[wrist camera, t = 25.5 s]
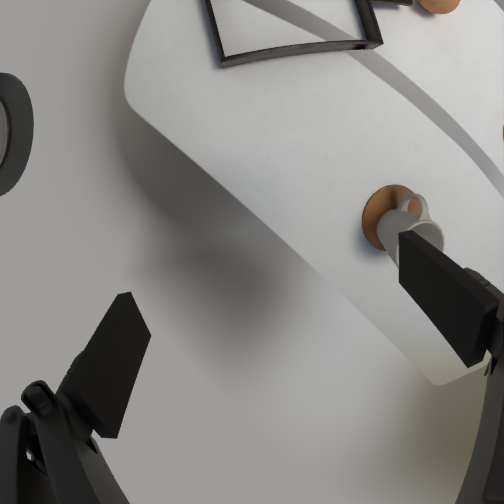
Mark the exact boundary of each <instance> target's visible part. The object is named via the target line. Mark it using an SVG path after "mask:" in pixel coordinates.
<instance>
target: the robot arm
mask: <svg viewBox="0 0 504 504" xmlns="http://www.w3.org/2000/svg"><path fill="white" fill-rule="evenodd" d="M11 132H12V128H11V117H10V113H9V110H8V107H7V105H6V103H5V102H4V100H3V99H2V98H1V97H0V169H1V168H2V166H3V164H4V162H5V160H6V158H7V155H8V152H9V148H10V143H11ZM398 240H399V283H400V284H401V286H402V287H403V288H404V289H405V290H406V291H407V292H408V294H409V295H410V296H411V297H412V298H413V300H414V301H415V302H416V303H417V304H418V305H419V307H420V308H421V309H422V310H423V311H424V313H425V314H426V315H427V316H428V318H429V319H430V320H431V321H432V322H433V324H434V325H435V326H436V327H437V329H438V330H439V331H440V333H441V334H442V335H443V336H444V338H445V339H446V340H447V341H448V343H449V344H450V345H451V347H452V348H453V349H454V351H455V352H456V353H457V355H458V356H459V357H460V359H461V360H462V361H463V363H464V364H465V365H466V367H467V368H469V367H471V366H473V365H475V364H477V363H479V362H481V361H483V358H484V355H485V352H486V349H487V350H488V351H489V352H490V353H491V358H490V361H489V363H488V366H487V369H486V371H485V374H484V375H485V376H486V375H487V373H488V377H487V385H486V392H485V398H484V404H483V410H482V414H481V419H480V424H479V429H478V433H477V437H476V441H475V445H474V448H473V452H472V456H471V459H470V463H469V466H468V469H467V472H466V476H465V478H464V481H463V484H462V487H461V490H460V492H459V495H458V498H457V500H456V503H455V504H504V294H503V293H502V292H501V291H500V290H498V289H497V288H496V287H495V286H494V285H493V284H491V283H490V282H489V281H488V280H486V279H485V278H484V277H483V276H482V275H480V274H479V273H478V272H476V271H474V270H471V269H469V268H464V269H463V268H461V267H460V266H459V265H458V264H456V263H455V262H454V261H453V260H451V259H450V258H449V257H448V256H446V255H445V254H444V253H442V252H441V251H440V250H439V249H437V248H436V247H435V246H433V245H432V244H431V243H429V242H428V241H427V240H425V239H424V238H422V237H421V236H420V235H418V234H417V233H416V232H414V231H413V230H408V231H403V232H399V233H398ZM150 338H151V334H150V332H149V330H148V328H147V326H146V324H145V321H144V319H143V317H142V315H141V313H140V311H139V309H138V307H137V304H136V302H135V300H134V298H133V296H132V293H131V292H127V293H122V294H118V295H117V296H116V298H115V300H114V301H113V303H112V304H111V306H110V308H109V309H108V311H107V313H106V314H105V316H104V317H103V319H102V321H101V322H100V324H99V326H98V327H97V329H96V331H95V332H94V334H93V336H92V337H91V339H90V341H89V342H88V344H87V346H86V348H85V349H84V351H82V352H81V353H80V354H79V355H78V356H77V357H76V358H75V359H74V361H73V363H72V364H71V366H70V368H69V370H68V372H67V375H65V377H64V379H63V381H62V383H61V384H60V386H59V388H58V390H57V392H56V394H54V393H53V392H52V390H51V389H50V388H49V387H48V385H47V384H46V383H45V382H44V381H42V380H39V381H35V382H33V383H31V384H30V385H29V386H27V387H26V389H25V390H24V391H23V393H22V395H21V400H22V402H23V403H24V404H25V405H26V406H27V407H28V409H29V410H30V411H31V412H30V413H26V414H25V413H24V412H23V410H22V409H21V408H20V407H19V406H16V405H15V406H11V407H9V408H7V410H5V411H4V413H3V415H2V416H1V419H0V504H130V503H129V501H128V500H127V498H126V497H125V495H124V493H123V492H122V490H121V489H120V487H119V485H118V483H117V482H116V480H115V478H114V476H113V474H112V473H111V471H110V469H109V467H108V465H107V463H106V461H105V459H104V457H103V455H102V453H101V452H100V449H99V447H98V445H97V443H96V441H95V440H94V439H93V438H92V436H91V434H92V431H93V429H94V430H95V431H96V432H97V433H98V435H99V436H100V437H101V438H114V439H115V438H116V439H117V437H118V433H119V430H120V427H121V424H122V420H123V417H124V414H125V411H126V408H127V404H128V401H129V398H130V395H131V392H132V389H133V386H134V383H135V380H136V377H137V374H138V372H139V368H140V366H141V363H142V360H143V357H144V354H145V352H146V349H147V346H148V343H149V341H150ZM26 452H28V453H29V454H30V455H31V460H29V459H28V458H27V454H26Z"/></svg>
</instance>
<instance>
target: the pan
mask: <svg viewBox="0 0 504 504" xmlns="http://www.w3.org/2000/svg"><path fill="white" fill-rule="evenodd" d="M354 1H355V4H356V6H357V9H358V12H359V16H360V19H361V22H362V25H363V28H364V32H365V35H366V39H367V40H345V41H328V42H316V43H305V44H297V45H289V46H281V47H275V48H268V49H263V50H257V51H251V52H246V53H241V54H237V55H232V56H227V57H225V55H224V51H223V47H222V43H221V40H220V36H219V32H218V28H217V24H216V20H215V16H214V13H213V9H212V5H211V1H210V0H205V3H206V7H207V10H208V14H209V18H210V22H211V26H212V30H213V34H214V37H215V41H216V45H217V49H218V53H219V57H220V61H221V64H222V68H226V67H230V66H235V65H239V64H244V63H249V62H254V61H259V60H265V59H271V58H277V57H284V56H291V55H298V54H307V53H316V52H327V51H340V50H361V49H374V48H376V47H378V46H380V45H382V44H384V43H383V40H382V36H381V33H380V29H379V26H378V23H377V20H376V16H375V13H374V10H373V7H372V4H371V3H382V4H395V5H404V6H411V5H413V2H412V0H354Z"/></svg>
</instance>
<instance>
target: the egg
mask: <svg viewBox="0 0 504 504" xmlns="http://www.w3.org/2000/svg"><path fill="white" fill-rule="evenodd" d="M419 2H420V4H421V5H422V6H423V7H424V8H425V9H426V10H428V11H430V12H432V13H436V14H447V13H449V12H451V11H453V10H454V9H456V8H457V6H458V4H459V2H460V0H419Z"/></svg>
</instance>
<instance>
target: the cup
mask: <svg viewBox="0 0 504 504" xmlns="http://www.w3.org/2000/svg"><path fill="white" fill-rule="evenodd" d="M414 197H415V198H416V199H417V200H418V202H419V205H420V212H419V214H418V215H415V214H412V213H409V212H408V211H407V207H408V204H409V202H410V200H411V199H412V198H414ZM408 230H413V231H414V232H416V233H417V234H418V235H420V236H421V237H422V238H424V239H425V240H427V241H428V242H429V243H431V244H432V245H433V246H435V247H436V248H437V249H439V250H440V251H441V252H442V253H443V251H444V245H445V240H444V235H443V232H442V229H441V228H440V227H439V225H438V224H436V223H435V222H433V221H432V220H431V218H430V215H429V212H428V205H427V202H426V200H425V199H424V197H422V196H421V195H419V194H415V193H409V194H406V195H405V196H404V197H403V198H402V200H401V201H400V203H399V205H398V207H397V209H392V210H389V211H387V212H386V213H384V214H383V216H382V217H381V218H380V220H379V222H378V225H377V236H378V238H379V240H380V242H381V243H382V245H383V246H384V248H385V250H386V251H387V253H388V254H389V256H390V257H391V259H392V260H393V261H394V263H395V264H396V266H397V267H398V269H399V240H398V233H399V232H403V231H408Z"/></svg>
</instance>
